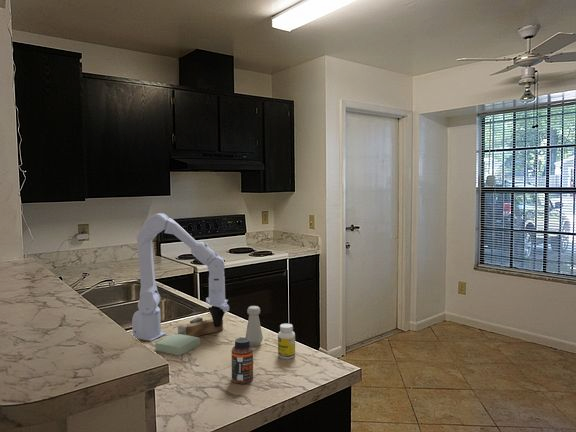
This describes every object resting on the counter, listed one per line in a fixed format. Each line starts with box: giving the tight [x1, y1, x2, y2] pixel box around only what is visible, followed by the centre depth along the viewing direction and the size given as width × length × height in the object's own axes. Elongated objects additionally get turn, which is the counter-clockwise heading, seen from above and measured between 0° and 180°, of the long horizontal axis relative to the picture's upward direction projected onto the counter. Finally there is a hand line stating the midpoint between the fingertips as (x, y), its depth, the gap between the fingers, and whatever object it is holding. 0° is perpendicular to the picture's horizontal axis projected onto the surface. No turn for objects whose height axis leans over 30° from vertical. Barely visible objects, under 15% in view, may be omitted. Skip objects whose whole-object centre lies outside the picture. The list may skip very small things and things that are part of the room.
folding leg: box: [177, 318, 224, 337], centre depth 156 cm, size 17×3×4 cm, turn 126°
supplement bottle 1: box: [231, 337, 254, 385], centre depth 119 cm, size 6×6×11 cm
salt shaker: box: [244, 305, 264, 348], centre depth 145 cm, size 6×6×13 cm
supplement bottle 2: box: [277, 323, 296, 360], centre depth 136 cm, size 5×5×10 cm
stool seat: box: [155, 332, 200, 356], centre depth 144 cm, size 10×10×2 cm
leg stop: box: [189, 317, 204, 324], centre depth 164 cm, size 2×5×3 cm, turn 155°
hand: (217, 326), depth 157 cm, fingers closed
